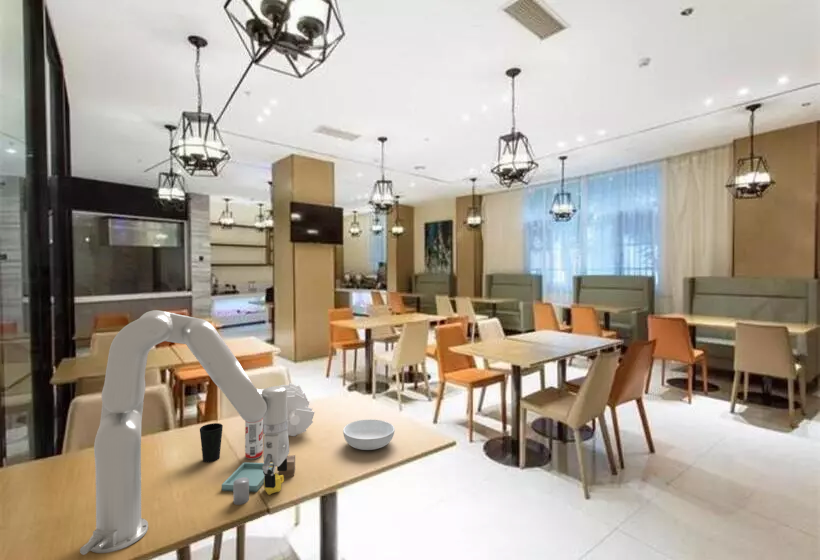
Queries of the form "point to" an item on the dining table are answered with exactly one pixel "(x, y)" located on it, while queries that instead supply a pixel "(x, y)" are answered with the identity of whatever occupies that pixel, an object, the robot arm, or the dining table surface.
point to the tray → (247, 476)
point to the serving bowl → (368, 434)
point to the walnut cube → (289, 467)
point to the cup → (211, 441)
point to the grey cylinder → (241, 491)
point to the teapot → (277, 484)
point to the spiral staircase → (297, 410)
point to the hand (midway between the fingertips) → (276, 478)
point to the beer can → (254, 439)
